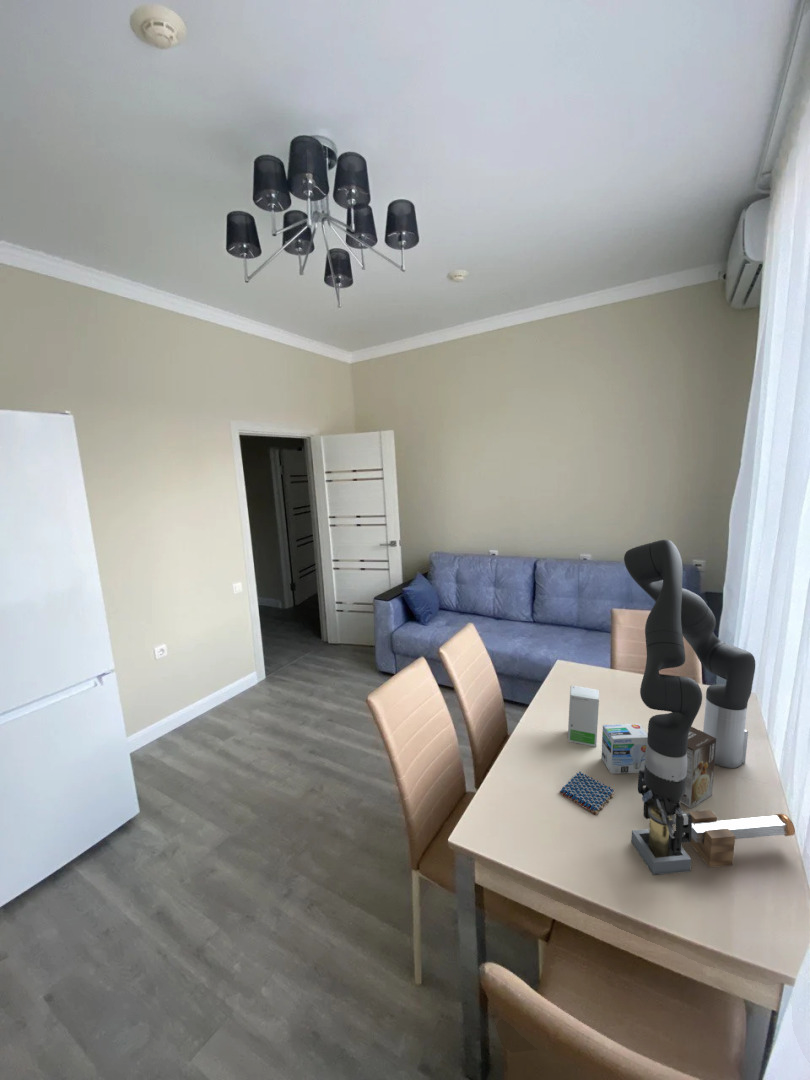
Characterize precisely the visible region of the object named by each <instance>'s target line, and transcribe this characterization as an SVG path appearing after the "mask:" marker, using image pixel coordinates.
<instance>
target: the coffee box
mask: <svg viewBox="0 0 810 1080" xmlns="http://www.w3.org/2000/svg"><path fill="white" fill-rule="evenodd" d="M715 750H716V738H715V737H712V736H710V735H708V734H706V733H704V732H703V730H700V729H697V728H695V727H693V726H691V728H690V731H689V734H688V744H687V761H688V763H687V778H686V791H685V794H684V795H683V796H682V797H681V799H680V804H681V803H682V804H683V805H685V806H686V807H688V808H689V809H693V808H694V807H695V806H698V805H699V804H700V803H702V802H703V801H705V800H706V799H708V798H709V797H711V796H712V795H713V787H714V775H715V772H714V771H715V764H714V763H715Z"/></svg>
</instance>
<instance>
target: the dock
mask: <svg viewBox="0 0 810 1080" xmlns="http://www.w3.org/2000/svg"><path fill="white" fill-rule="evenodd" d="M630 839H631V840H630V842H631V844H632V845H633V847H634V848H635V850H636V851H637V853H638V854H639V856H640V858H641V859H642V860H643V862H644V864H645V866H646V867H647V868H648V870H649V871H650V873H651V874H652V876H656V875H657V876H658V875H667V874H668V875H669V874H679V873H686V872H687V873H688V872H691V867H692V858H691V856H690V855H689V854H688V853H687V852H686V851H685V849H684V847H682V846H681V852H676V853H671V852H670V857H659V858H655V856H654V855H653V854H652V852H651V851H650V849H649V848H648V844H649V828H645V829H644V828H643V829H635V830H633V829H632V830H631V837H630Z"/></svg>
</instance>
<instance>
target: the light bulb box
mask: <svg viewBox="0 0 810 1080" xmlns="http://www.w3.org/2000/svg"><path fill="white" fill-rule="evenodd" d="M601 733H602V735H601V738H602V739H601V755H600V756H601V760H602V762H603V763H604V765H605V766H606V768H607V769H608V771H609V773H610V774H611V775H616V774H622V775H623V774H639V770H644V768H645V751H646V747H647V739H648V731H646V730H645V729H644V728H643V727H642V726H641V724H640V723H639V722H638V723H637V722H636V723H619V724H603V725H602V732H601Z"/></svg>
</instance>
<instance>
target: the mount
mask: <svg viewBox="0 0 810 1080" xmlns="http://www.w3.org/2000/svg"><path fill="white" fill-rule="evenodd" d="M688 813H690V815H691V817H692V823H701V822H712V821H718V816H717V815H716V814H715V813H714V812H713V811H712V810H711V809H705V810H694V811H692V810H691V811H688ZM689 844H690V845H691V846H692V848H693V849H694V850H695V851H696V852H697V854H698V855H699V856H700V858H701V859H702V860H703V861H704V862H705V863H706V865H707V866H708V868H714V867H716V868H717V867H724V866H733V863H734V854H735V853H734V852H735V844H736V839H735V835H734V834H733V833H732V832H731V831H730V830H729V829H728V828H726V829H715V830H705V836H704V842H700V843H696V842H695V840H694V839H693V838H692V837H691V842H689Z"/></svg>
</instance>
